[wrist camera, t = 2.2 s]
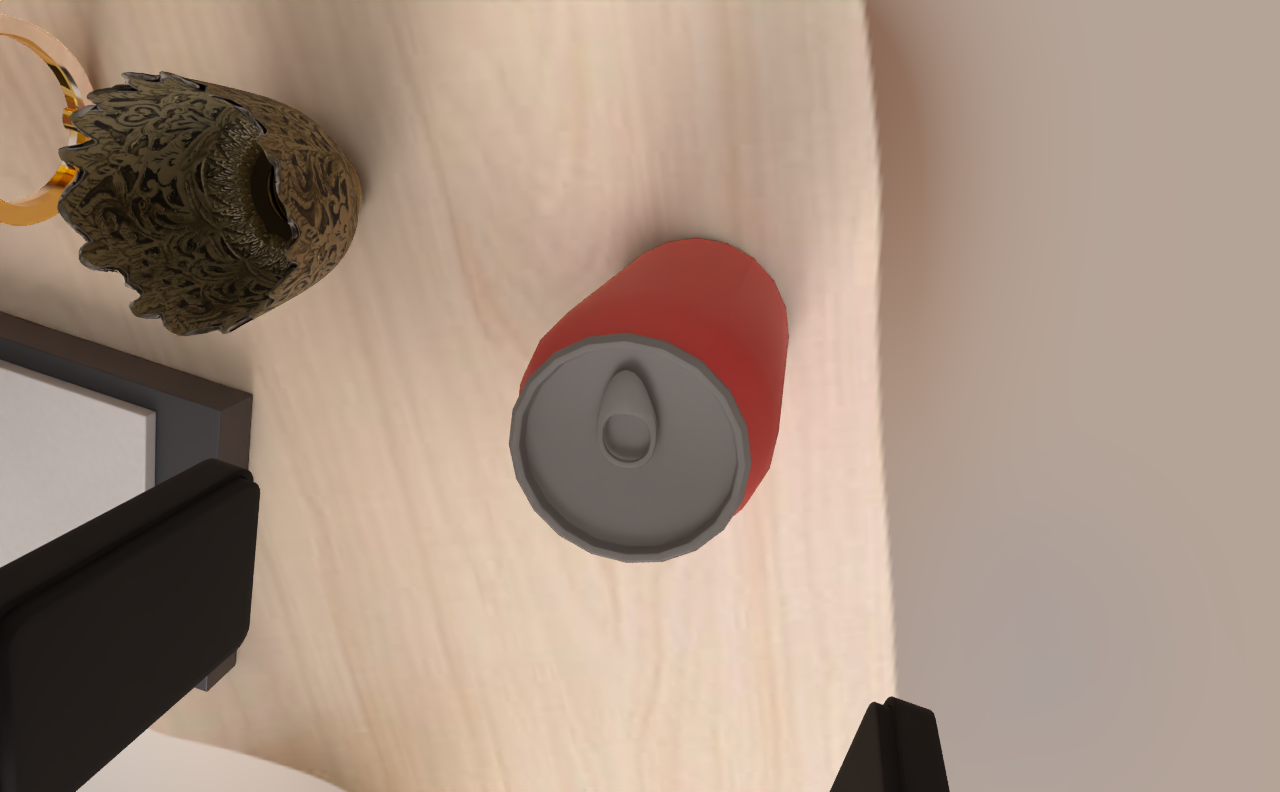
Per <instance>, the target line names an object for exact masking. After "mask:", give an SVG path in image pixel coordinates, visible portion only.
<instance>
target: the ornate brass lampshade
mask: <svg viewBox="0 0 1280 792" xmlns="http://www.w3.org/2000/svg"><path fill="white" fill-rule="evenodd" d="M159 73H160V74H161V75H160V74H159V75H149V74H144V73H133V72H126V73H122V74H121V75H122V76H123V77H124V78H125V82H127V83H128V84H129V85H126V84H125V85H124V84H123V85H122V84H119V85H115V86H113V87H112V88H105V89H99V90H95V91H92V92H89V93H88V94H87V99H88V100H90V101H92V103H94V104H96V105H86V106H85V107H83V108H81V109H79V110H78V111H75V112H73V113H72V114H71V115H70V116H69V118H70V121H71V123H72V124H73V125H74V126H75V127H76V128H77V129H78V130H79V131H80V132H81V133H82V134H83V135H84V136H86V137H87V138H89V137H90V138H91V140H89V141H86V142H84V143H81V144H76V145H71V146H66V147H63V148H60V149H59V156H60V158H61V160H62V161H64V162H65V164H66V165H67V166H68V167H69V168H70V169H74V170H75V171H76V169H75V167H77V168H78V169H79V171H78V170H77V174H76V178H75V180H74V181H73V182H72V183H70V184H69V185H68V186H67V187H66V188H65V189H64V191H63V193H62V194H61V196H60V199H59V202H58V205H57V209H58V211H59V213H60V214H61V216H62V217H63V218H64V220H65V221H66V222H67V223H68V224H69V225H70V226H71V227H72V228H73V229H74V230H75V231H76V232H77V233H79V234H80V235H81V236H82V237H83V238H84V239H85V240H86V241H88V242H87V243H86V244H84V245H83V246H82V247H81V248H80V250H79V260H80V262H81V263H82V264H83V265H84V266H86V267H87V268H89V269H91V270H98V271H105V272H108V271H111V272H117V271H119V272H120V273H121V274H122V275H123V276H124V278H125V286H126V287H128V288H131V289H133V290H134V289H135V290H136V291H137V292H138V293H139V294H140V295H141V296H140V297H139V298H138V299H137V300H134V301H133V303H132V302H131V301H130V304H129V307H130V309H131V311H132V313H133V314H134V315H135V316H137V317H139V318H145V319H158V318H161V320H162V322H163V325H164V327H165V328H166V329H168V330H169V331H171V332H172V333H174V334H176V335H178V336H190V335H197V334H204V333H208V332H211V331H215V330H219V331H220V332H221V333H222V334H227V333H229V332H232V331H233V330H235V329H237V328H238V327H240V326H242V325H244V324H245V323H247V322H249V321H251V320H254V319H255V318H257V317H259V316H261V315H262V314H264V313H266V312H268V311H270V310H272V309H274V308H275V307H277V306H279V305H281V304H283V303H284V302H286V301H288V300H290V299H291V298H293V297H295V296H297V295H298V294H300V293H302V292H303V291H305V290H307V289H308V288H310V287H311V286H313V285H314V284H316V283H317V282H318V281H320V280H321V279H322V278H324V277H325V276H326V275H327V274H328V273H329V272H331V271H332V269H333V268H334V267H335V266H336V265H337V264H338V263H339V262H340V261H341V259H342V258H343V256H344V255H345V253H346V252H347V250H348V248H349V246H350V244H351V242H352V240H353V237H354V234H355V231H356V226H357V221H358V215H359V212H360V209H361V205H362V187H361V182H360V179H359V176H358V174H357V172H356V170H355V168H354V167H353V165H352V164H351V162H350V161H349V160H348V159H347V158H346V157H345V156H344V155H343V153H342V151H341V150H340V148H339V147H338V145H337V144H336V143H335V142H334V140H333V139H332V138H331V137H330V136H329V135H328V134H327V133H326V132H325V131H324V130H323V129H322V128H321V127H320V126H319V125H318V124H316V123H315V122H314V121H313V120H311V119H310V118H309V117H307V116H306V115H304V114H303V113H301V112H299V111H297V110H295V109H293V108H291V107H289V106H288V105H285V104H283V103H280V102H278V101H275V100H273V99H270V98H267V97H263V96H260V95H256V94H253V93H249V92H246V91H242V90H238V89H234V88H229V87H225V86H221V85H216V84H212V83H207V82H203V81H198V80H193V79H188V78H184V77H181V76H178V75H175V74H172V73H169V72H163V71H161V72H159ZM72 165H73V166H72ZM74 166H75V167H74ZM101 269H104V270H101ZM108 269H112V270H108ZM115 270H117V271H115ZM117 273H118V272H117Z"/></svg>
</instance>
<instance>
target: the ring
mask: <svg viewBox="0 0 1280 792" xmlns="http://www.w3.org/2000/svg"><path fill="white" fill-rule="evenodd" d="M0 35H4V36H7V37H9V38H12V39H14V40H16V41H18V42H20V43H22V44H23V45H25V46H27V47H28V48H30V49H31V50H32V51H34V52H35V53H36V54H37V55H39V56H40V57H41V58H42V59H43V60H44V61H45V62H46V63H47V65H48V66H49V67H50V68H51V70H52V71H53V72H54V74H55V75H56V77H57V79H58V81H59V83H60V85H61V87H62V89H63V92H64V94H65V98H66V101H67V106H68V107H66V108H65V109H64V111H63V124H64V127H65V128H66V129H67V130H70V134H69V142H68V146H71V145H76V144H81V143H84V142H86V141H89V140H91V138H90V137H89V138H87V137H86V136H84V135H83V134H82V133H81V132H80V131H79V130H78V129H77V128H76V127H75V126H74V125H73V124H72V123H71V121H70V118H69V116H70V115H71V114H72V113H73V112H75V111H78V110H79V109H81V108H83V107H85V106H86V105H96V104H94V103H92V101H90V100H88V99H87V94H88V93H89V92H92V91H93V88H92V86H91V83H90V81H89V79H88V77H87V75H86V73H85V71H84V70H83V68H82V66H81V65H80V63H79V62H78V61H77V59H76V58H75V57H74V56H73V54H72V53H71V52H70V51H69V50H68V49H67V48H66V47H65V46H64V45H63V44H62V43H61V42H60V41H58V40H57V39H56V38H55V37H53V36H52V35H51V34H49V33H48V32H46V31H45V30H43V29H41V28H40V27H38V26H36V25H34V24H32V23H30V22H27V21H25V20H22V19H18V18H15V17H12V16H9V15H5V14H2V13H0ZM72 166H73V165H72ZM74 167H75V166H74ZM75 169H76V171H75V170H74V169H70V168H69V167H68V166H67V165H66V164H65V162H64V161H62V163H61V165H60V167H59V169H58V170H57V172H56V173H55V175H54V176H53V177H52V178H51V180H50V181H49V182H48V183H47V184H46V185H45V186H43V187H42V188H41V189H39V190H38V191H37V192H35V193H33V194H32V195H30V196H27V197H25V198H22V199H19V200H16V201H10V202H5V201H3V200H1V199H0V223H4V224H8V225H15V226H25V225H32V224H36V223H39V222H42V221H45V220H47V219H49V218H51V217H53V216H55V215H56V214H58V213H59V211H58V209H57V205H58V202H59V199H60V196H61V194H62V193H63V191H64V189H65V188H66V187H67V186H68V185H69V184H70V183H72V182H73V181H74V180H75V178H76V174H77V170H78V171H79V169H78V168H77V167H75Z"/></svg>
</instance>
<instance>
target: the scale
mask: <svg viewBox="0 0 1280 792" xmlns="http://www.w3.org/2000/svg"><path fill="white" fill-rule="evenodd" d="M251 410H252V395H251V394H248V393H245V392H241V391H238V390H235V389H232V388H229V387H226V386H223V385H220V384H217V383H214V382H211V381H208V380H205V379H202V378H199V377H196V376H193V375H190V374H187V373H184V372H181V371H178V370H174V369H171V368H168V367H165V366H162V365H159V364H156V363H153V362H150V361H147V360H144V359H141V358H138V357H135V356H132V355H129V354H126V353H123V352H120V351H117V350H114V349H111V348H108V347H104V346H101V345H98V344H95V343H92V342H89V341H86V340H83V339H80V338H77V337H74V336H71V335H68V334H65V333H62V332H59V331H56V330H53V329H50V328H47V327H44V326H41V325H38V324H34V323H31V322H28V321H25V320H22V319H19V318H16V317H13V316H10V315H7V314H4V313H1V312H0V568H1V567H2V566H4V565H6V564H8V563H10V562H12V561H14V560H16V559H18V558H20V557H21V556H23V555H25V554H27V553H29V552H31V551H33V550H35V549H37V548H39V547H40V546H42V545H44V544H46V543H48V542H50V541H52V540H54V539H56V538H58V537H59V536H61V535H63V534H65V533H67V532H69V531H71V530H73V529H75V528H77V527H78V526H80V525H82V524H84V523H86V522H88V521H90V520H92V519H94V518H96V517H97V516H99V515H101V514H103V513H105V512H107V511H109V510H111V509H113V508H115V507H116V506H118V505H120V504H122V503H124V502H126V501H128V500H130V499H132V498H134V497H135V496H137V495H139V494H141V493H143V492H145V491H147V490H149V489H151V488H153V487H154V486H156V485H158V484H160V483H162V482H164V481H166V480H168V479H170V478H172V477H173V476H175V475H177V474H179V473H181V472H183V471H185V470H187V469H189V468H191V467H193V466H194V465H196V464H198V463H200V462H202V461H204V460H207V459H210V458H215V459H219V460H222V461H225V462H227V463H230V464H233V465H236V466H239V467H242V468H244V469H247V470H248V456H249V441H250V425H251ZM235 658H236V651H235V652H234V653H233V654H232V655H230V656H229V657H228V658H227V659H226V660H225V661H224V662H222V663H221V664H220V665H219V666H218V667H217V668H216V669H215V670H213V671H212V672H211V673H210V674H209V675H208V676H207V677H205V678H204V679H203V680H202V681H201V682H200V683H199V684H197V685H196V686H195V688H198V689H201V690H203V691H206V692H207V691H208V690H210V689H211V688H212V687H213V686H214V685H215V684H216V683H217V682H218V681H219V680H220V679H221V678H222V677H223V676H224V675H225V674H226V673H228V672H229V671H230V670H231V669H232V668H233V667H234V666H235Z"/></svg>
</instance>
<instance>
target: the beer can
mask: <svg viewBox="0 0 1280 792" xmlns="http://www.w3.org/2000/svg"><path fill="white" fill-rule="evenodd" d="M788 339H789V334H788V323H787V313H786V306H785V304H784V302H783V300H782V297H781V295H780V293H779V291H778V288H777V286H776V284H775V282H774V280H773V279H772V278H771V277H770V276H769V275H768V273H767V272H766V271H765V270H764V269H763V268H762V267H761V266H760V265H759V264H758V263H757V261H756V260H755V259H754V258H752V257H750V256H749V255H747V254H745V253H743V252H741V251H740V250H738V249H736V248H734V247H732V246H731V245H729V244H727V243H722V242H717V241H711V240H706V239H701V238H692V239H685V240H677V241H669V242H666V243H664V244H662V245H660V246H658V247H656V248H654V249H652V250H650V251H648V252H646V253H644V254H642V255H641V256H639V257H638V258H637V259H636V260H634V261H633V262H632V263H630V264H629V265H628V266H627V267H625V268H624V269H623V270H621V271H620V272H619V273H618V274H616V275H615V276H614V277H613V278H611V279H610V280H609V281H607V282H606V283H605V284H604V285H602V286H601V287H600V288H599V289H597V290H596V291H595V292H593V293H592V294H591V295H590V296H588V297H587V298H586V299H584V300H583V301H582V302H581V303H579V304H578V305H577V306H576V307H574V308H573V309H572V310H570V311H569V312H568V313H567V314H566V315H565V316H564V317H563V318H562V319H561V320H560V321H559V322H558V323H557V324H556V325H555V326H554V327H553V328H552V329H551V330H550V331H549V332H548V333H547V334H546V335H545V336H544V337H543V338H542V339H541V340H540V342H539V344H538V346H537V348H536V350H535V352H534V354H533V357H532V359H531V361H530V363H529V365H528V367H527V369H526V371H525V373H524V376H523V379H522V381H521V384H520V391H519V398H518V400H517V402H516V404H515V406H514V408H513V411H512V420H511V430H510V439H509V447H510V452H511V456H512V461H513V466H514V470H515V475H516V479H517V481H518V483H519V484H520V486H521V488H522V490H523V492H524V493H525V495H526V497H527V499H528V500H529V502H530V504H531V506H532V508H533V509H534V511H535V512H536V513H537V514H538V515H539V516H540V517H541V518H542V519H543V520H544V521H545V522H546V523H547V524H548V525H549V526H550V527H551V528H552V529H553V530H554V531H555V532H556V533H557V534H558V535H559V536H561V537H563V538H565V539H566V540H568V541H570V542H572V543H573V544H575V545H577V546H579V547H580V548H582V549H584V550H586V551H587V552H589V553H591V554H594V555H598V556H602V557H606V558H610V559H614V560H618V561H622V562H626V563H637V562H663V561H666V560H669V559H672V558H675V557H678V556H681V555H684V554H687V553H690V552H693V551H696V550H697V549H699V548H700V547H701V546H703V545H704V544H705V543H707V542H708V541H709V540H711V539H712V538H713V537H715V536H716V535H717V534H719V533H720V532H721V531H723V530H724V529H725V527H726V526H727V524H728V522H729V521H730V519H731V518H732V516H734V515H735V514H736V513H738V512H739V511H740V510H742V508H743V507H744V506H745V504H746V503H747V502H748V500H749V499H750V497H751V496H752V494H753V493H754V491H755V490H756V488H757V487H758V485H759V484H760V482H761V481H762V479H763V478H764V476H765V475H766V473H767V472H768V470H769V469H770V465H771V461H772V456H773V452H774V448H775V444H776V440H777V436H778V432H779V423H780V414H781V405H782V395H783V386H784V376H785V367H786V357H787V348H788Z"/></svg>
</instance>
